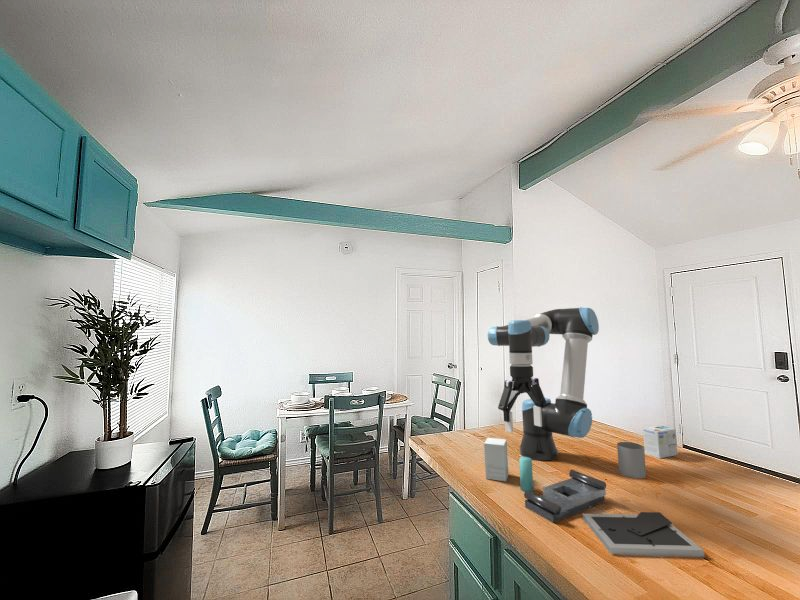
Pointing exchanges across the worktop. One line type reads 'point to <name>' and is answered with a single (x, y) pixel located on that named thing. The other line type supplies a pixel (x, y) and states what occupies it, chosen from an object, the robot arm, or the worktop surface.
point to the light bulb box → (660, 441)
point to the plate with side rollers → (567, 497)
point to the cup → (631, 459)
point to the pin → (526, 474)
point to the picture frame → (641, 535)
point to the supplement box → (496, 459)
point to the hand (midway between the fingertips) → (524, 428)
